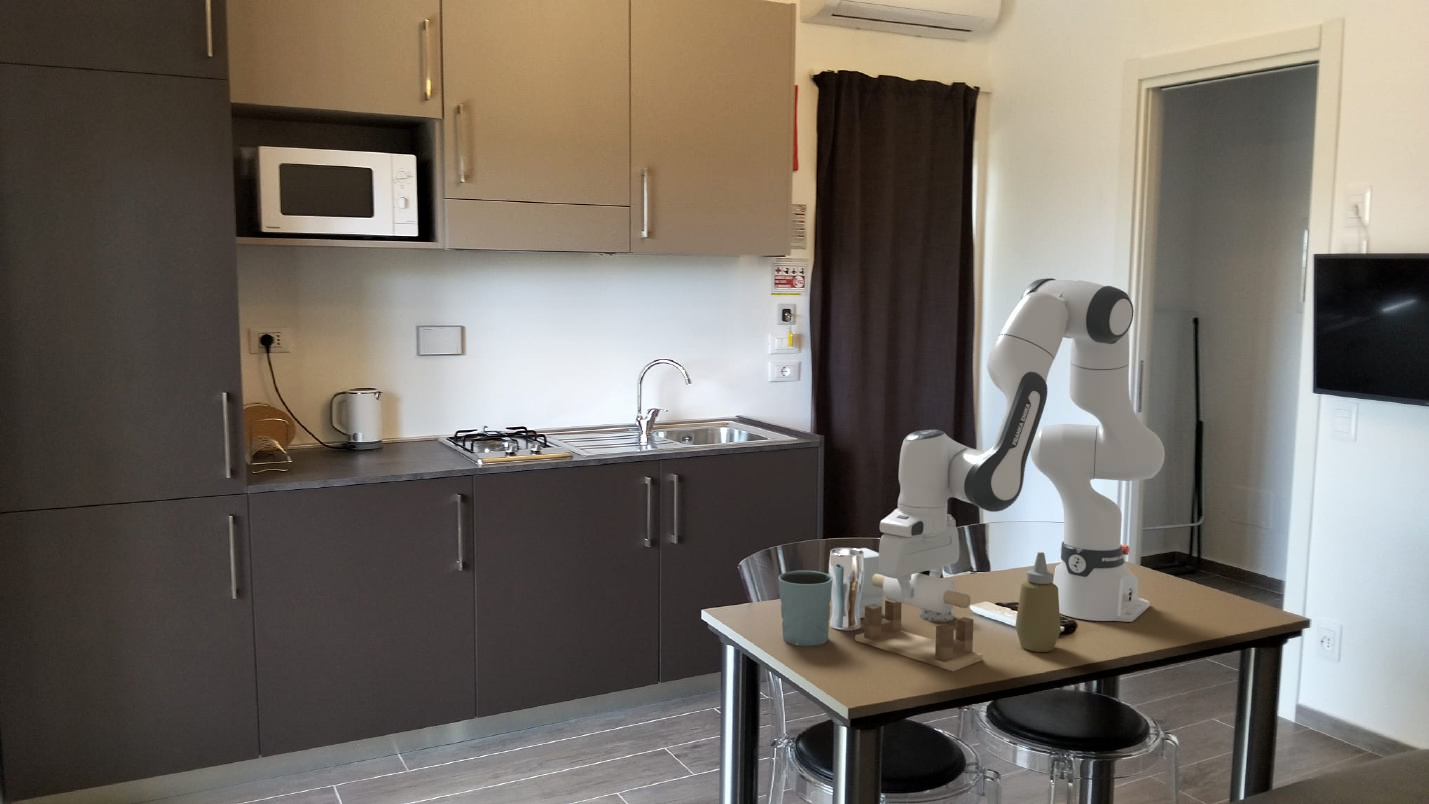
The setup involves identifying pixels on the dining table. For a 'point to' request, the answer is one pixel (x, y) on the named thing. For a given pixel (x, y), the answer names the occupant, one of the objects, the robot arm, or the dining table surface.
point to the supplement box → (870, 582)
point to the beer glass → (846, 587)
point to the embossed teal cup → (805, 606)
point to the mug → (936, 615)
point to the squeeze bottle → (1038, 609)
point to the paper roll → (924, 592)
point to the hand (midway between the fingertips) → (919, 594)
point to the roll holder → (919, 638)
